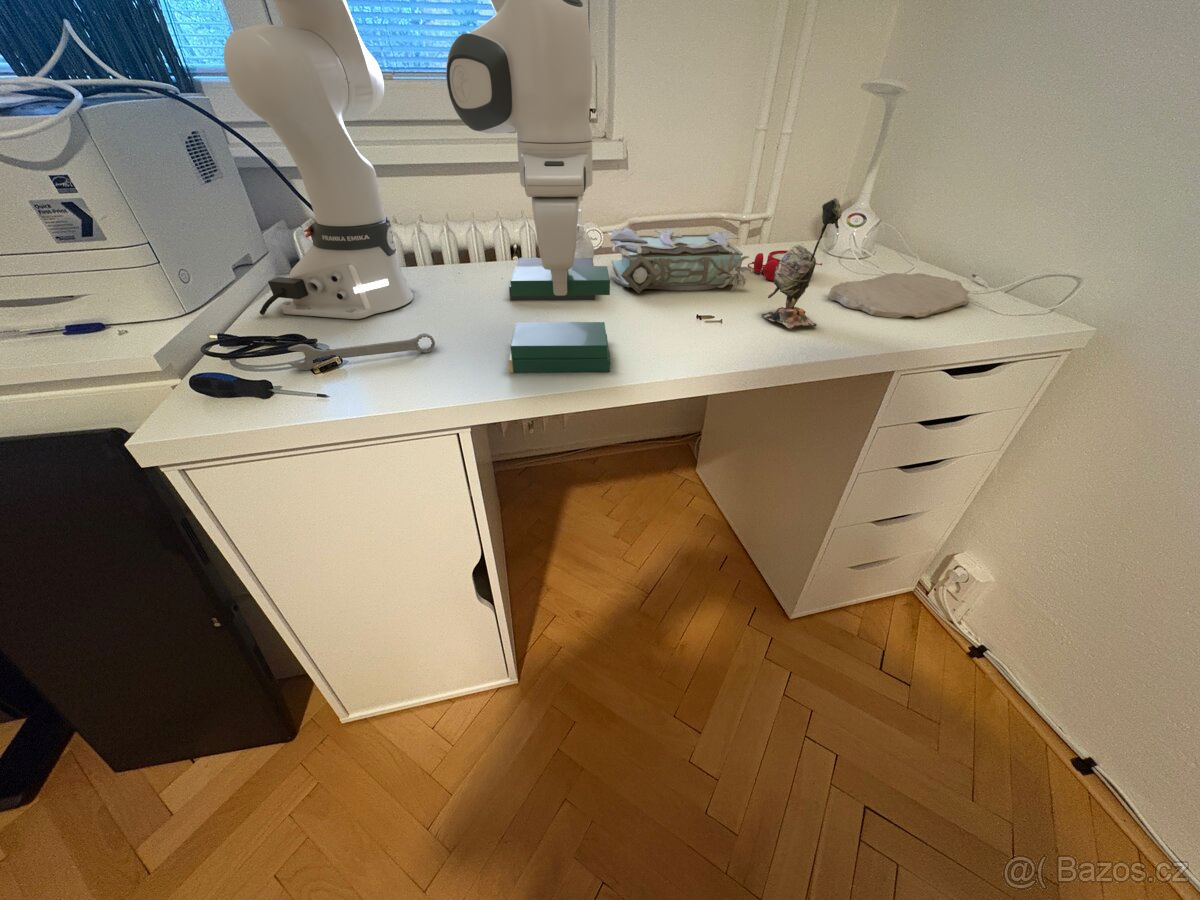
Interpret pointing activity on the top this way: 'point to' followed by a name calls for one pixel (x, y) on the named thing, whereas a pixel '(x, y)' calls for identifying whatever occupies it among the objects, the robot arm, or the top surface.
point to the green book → (578, 281)
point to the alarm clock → (768, 263)
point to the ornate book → (676, 260)
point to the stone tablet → (901, 295)
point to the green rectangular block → (559, 347)
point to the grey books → (537, 263)
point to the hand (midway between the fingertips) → (561, 284)
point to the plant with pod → (799, 274)
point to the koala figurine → (583, 241)
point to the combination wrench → (357, 350)
